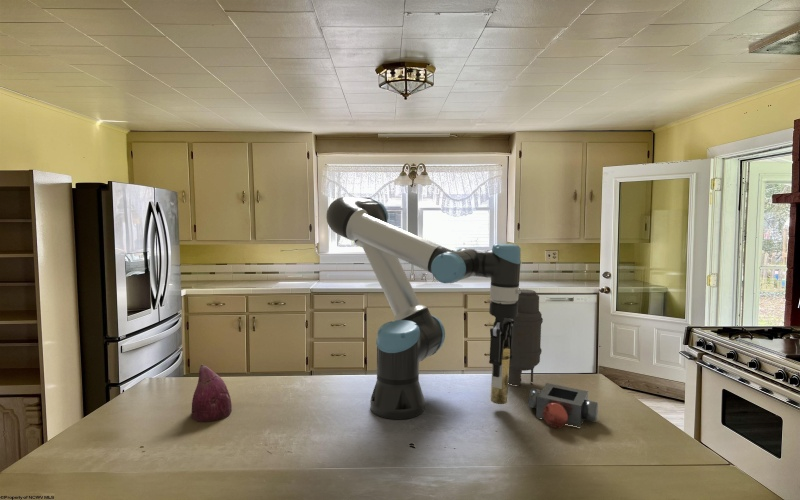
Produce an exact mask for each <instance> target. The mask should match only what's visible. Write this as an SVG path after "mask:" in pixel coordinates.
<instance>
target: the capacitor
mask: <svg viewBox="0 0 800 500" xmlns="http://www.w3.org/2000/svg"><path fill="white" fill-rule="evenodd" d="M519 291H521V293H520V294H519V296H518V301H516V302H517V303H518V315H517V316H516V317H514V318H511V320H514V321H515V322H514V328H513V344H512V354H510V356H513V357H512V359H510V360H509V379H508V383H509V384H512V385H520V384H522V372H523V371H524V372H525V371H526V372H527V371H530V383H531V382H533V383H534V369H535V367H536V366H538V365H540V362H541V354H542V348H541V341H542V339H541V337H542V324H543V321H544V319H543V317H542V312H541V311H540V295H539V294H538V293H537V291H535V290H532V289H519ZM509 384H508V385H509ZM520 386H521V385H520Z"/></svg>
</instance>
